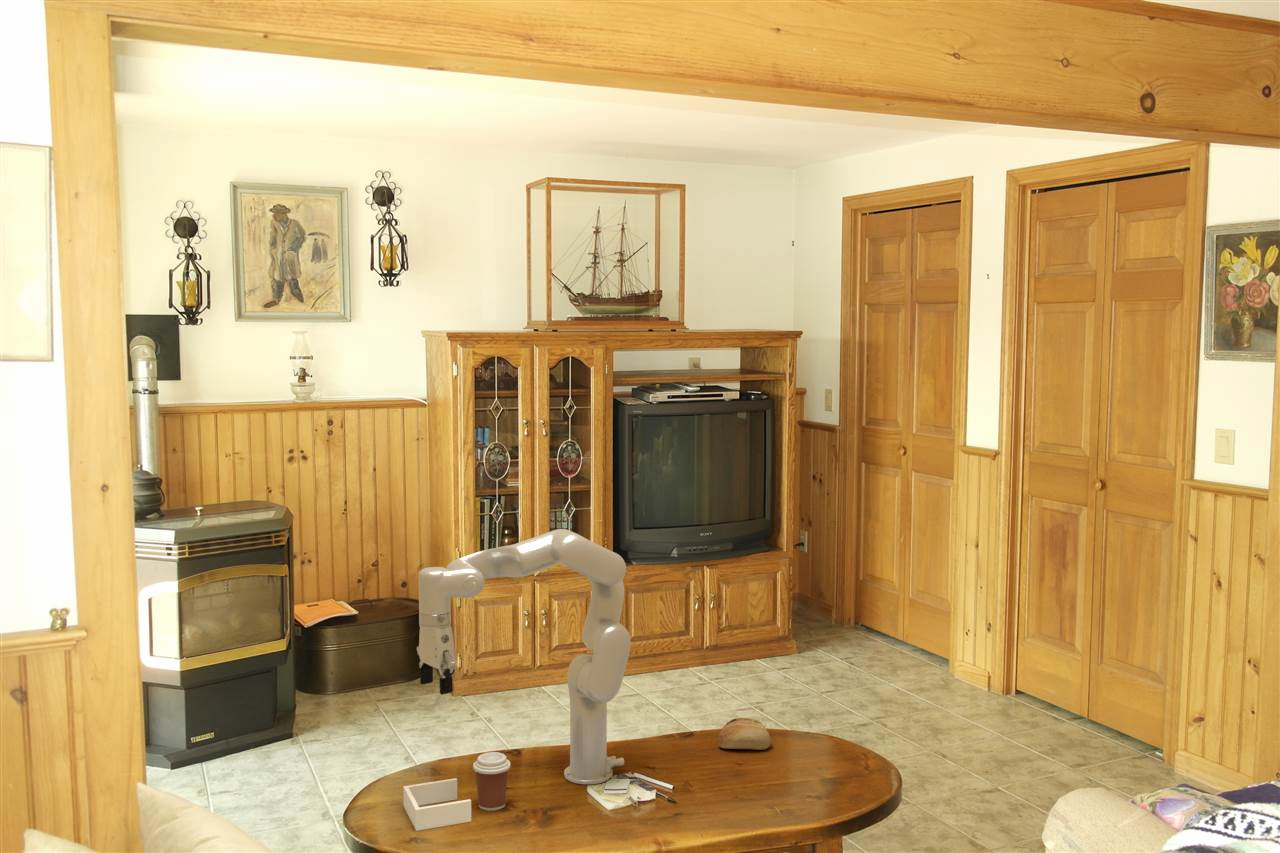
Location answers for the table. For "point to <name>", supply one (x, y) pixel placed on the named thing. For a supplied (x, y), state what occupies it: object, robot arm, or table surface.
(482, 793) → the coffee cup
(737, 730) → the bread roll
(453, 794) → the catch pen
